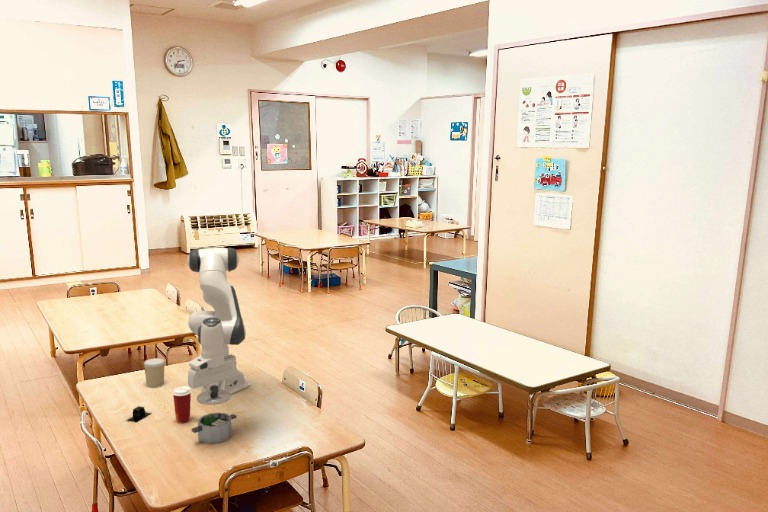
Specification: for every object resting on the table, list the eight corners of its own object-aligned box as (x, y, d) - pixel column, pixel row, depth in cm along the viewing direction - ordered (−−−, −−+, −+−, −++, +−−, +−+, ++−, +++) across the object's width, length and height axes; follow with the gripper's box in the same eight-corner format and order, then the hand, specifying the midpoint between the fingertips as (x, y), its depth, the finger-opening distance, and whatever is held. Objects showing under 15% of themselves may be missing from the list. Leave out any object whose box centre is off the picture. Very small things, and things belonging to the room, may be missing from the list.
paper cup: (196, 418, 254) (195, 387, 252) (184, 425, 247) (183, 394, 245) (181, 415, 257) (179, 384, 254) (169, 422, 249) (168, 391, 247)
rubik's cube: (211, 435, 239) (210, 424, 238) (219, 430, 244) (219, 419, 243) (220, 438, 237) (220, 426, 236) (229, 433, 242) (228, 421, 241)
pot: (226, 423, 250) (226, 407, 249) (244, 433, 241) (244, 417, 240) (185, 438, 236) (184, 422, 235) (202, 449, 227) (201, 432, 226)
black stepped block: (135, 425, 247) (134, 415, 246) (121, 422, 250) (120, 412, 249) (155, 413, 259) (155, 403, 258) (142, 411, 261) (141, 401, 260)
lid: (219, 388, 245) (219, 377, 244) (237, 398, 236) (237, 386, 235) (190, 397, 235) (190, 386, 234) (208, 407, 227) (207, 395, 226)
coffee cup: (151, 380, 294) (150, 357, 292) (169, 381, 293) (168, 358, 291) (141, 387, 285) (140, 364, 283) (159, 389, 284) (158, 365, 282)
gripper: (231, 351, 243) (231, 383, 245) (185, 363, 228) (186, 397, 230) (239, 355, 238) (240, 387, 241) (193, 367, 224) (194, 402, 226)
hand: (213, 392), depth 235 cm, fingers closed on lid, 3 cm apart
